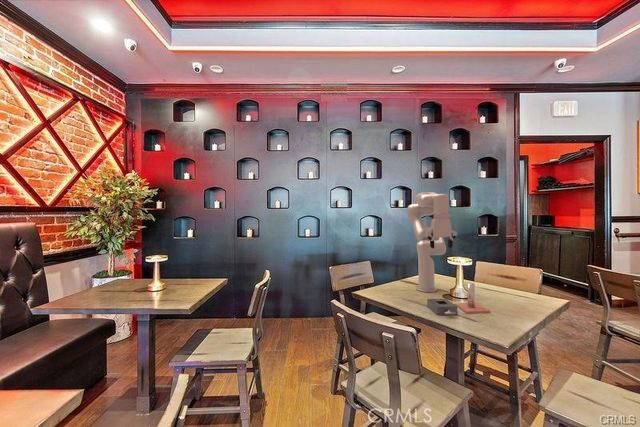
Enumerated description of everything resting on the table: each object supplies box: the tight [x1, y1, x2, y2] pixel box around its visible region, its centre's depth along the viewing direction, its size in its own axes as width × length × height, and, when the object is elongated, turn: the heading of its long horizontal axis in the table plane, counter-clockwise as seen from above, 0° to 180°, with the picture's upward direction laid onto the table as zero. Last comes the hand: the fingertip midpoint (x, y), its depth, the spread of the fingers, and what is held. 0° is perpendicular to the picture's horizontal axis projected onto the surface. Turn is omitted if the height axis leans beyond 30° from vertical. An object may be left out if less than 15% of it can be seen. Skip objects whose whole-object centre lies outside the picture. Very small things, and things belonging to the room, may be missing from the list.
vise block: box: [426, 298, 458, 316], centre depth 144 cm, size 16×10×4 cm, turn 1°
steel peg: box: [467, 282, 476, 308], centre depth 147 cm, size 3×3×12 cm
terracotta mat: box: [453, 302, 491, 314], centre depth 147 cm, size 12×12×1 cm
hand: (441, 247), depth 156 cm, fingers open, 9 cm apart
